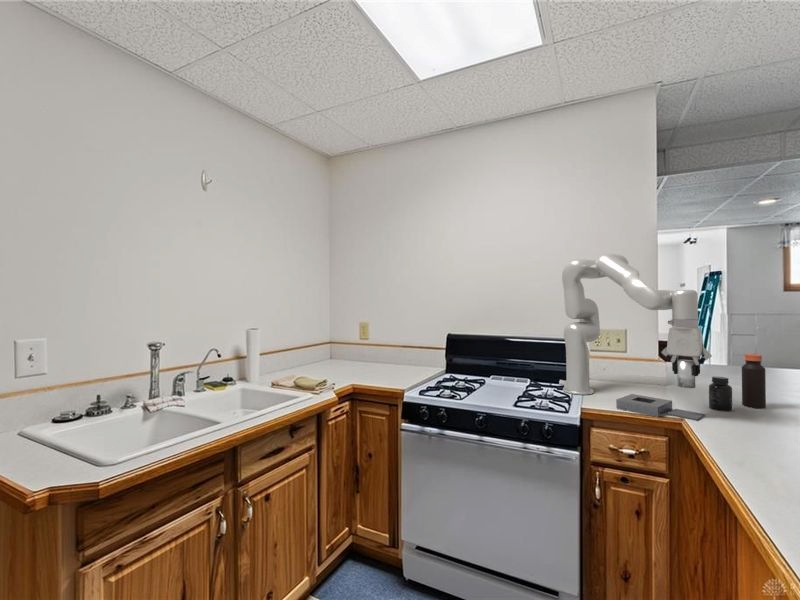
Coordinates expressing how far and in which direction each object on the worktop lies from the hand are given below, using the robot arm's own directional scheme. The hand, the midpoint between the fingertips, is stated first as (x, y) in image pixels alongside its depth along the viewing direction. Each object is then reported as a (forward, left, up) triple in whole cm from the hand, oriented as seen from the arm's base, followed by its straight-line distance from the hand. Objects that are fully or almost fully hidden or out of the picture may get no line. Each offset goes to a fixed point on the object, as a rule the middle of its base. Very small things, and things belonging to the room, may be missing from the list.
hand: (686, 374), depth 139 cm
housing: (-13, -3, -15) cm, 20 cm away
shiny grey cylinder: (0, 0, -4) cm, 4 cm away
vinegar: (+12, +33, -15) cm, 38 cm away
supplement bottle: (+5, +19, -15) cm, 25 cm away
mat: (0, 0, -15) cm, 15 cm away
